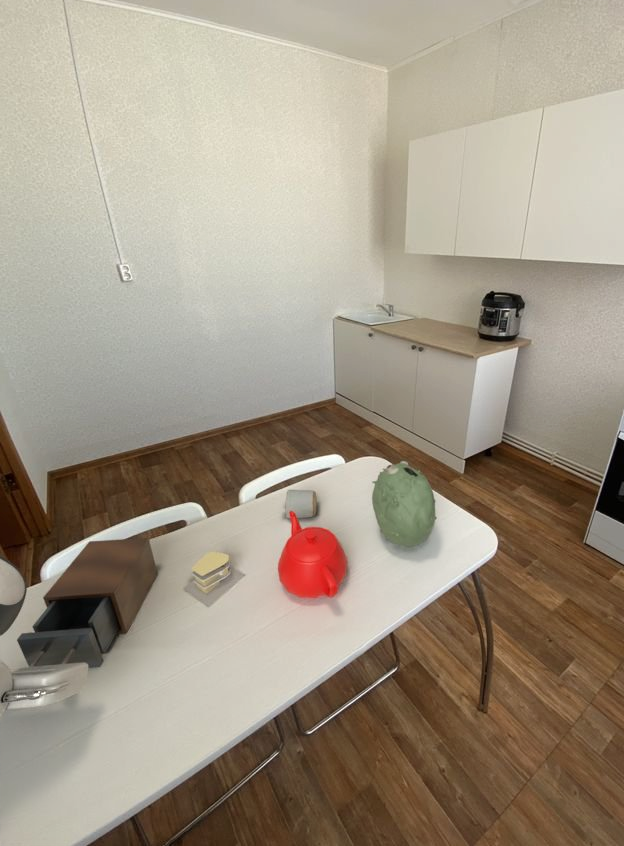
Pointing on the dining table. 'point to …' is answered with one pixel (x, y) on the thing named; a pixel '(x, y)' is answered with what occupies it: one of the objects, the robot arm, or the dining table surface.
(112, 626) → the dark grey drawer
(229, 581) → the stacked layers on plate
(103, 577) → the cabinet
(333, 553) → the teapot
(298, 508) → the ceramic mug
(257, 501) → the dining table surface
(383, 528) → the green bumpy oval shape
